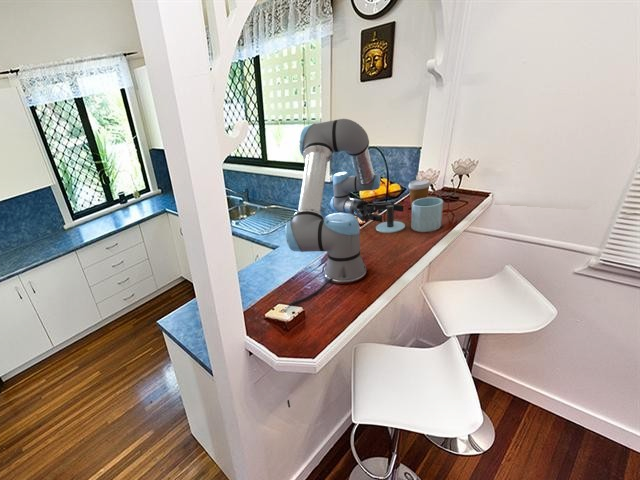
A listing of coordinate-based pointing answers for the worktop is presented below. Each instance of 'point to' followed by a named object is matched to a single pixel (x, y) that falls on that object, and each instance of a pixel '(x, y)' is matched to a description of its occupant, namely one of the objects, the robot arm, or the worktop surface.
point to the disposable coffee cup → (418, 189)
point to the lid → (390, 223)
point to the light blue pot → (426, 214)
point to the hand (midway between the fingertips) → (392, 213)
